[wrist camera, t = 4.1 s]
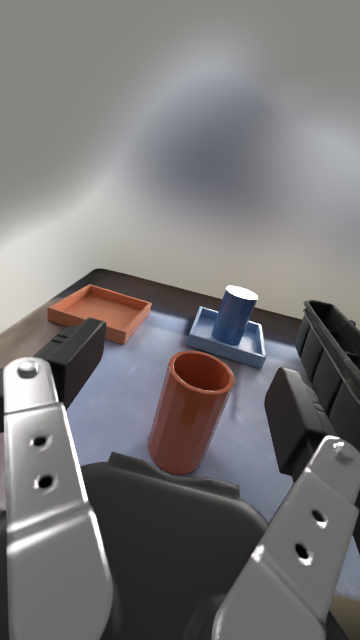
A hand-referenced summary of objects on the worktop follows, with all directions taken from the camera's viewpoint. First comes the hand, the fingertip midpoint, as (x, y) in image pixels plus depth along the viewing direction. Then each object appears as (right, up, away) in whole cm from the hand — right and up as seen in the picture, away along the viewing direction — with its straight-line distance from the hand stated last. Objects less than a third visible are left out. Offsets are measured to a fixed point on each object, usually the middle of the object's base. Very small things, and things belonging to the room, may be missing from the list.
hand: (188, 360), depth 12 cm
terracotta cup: (-1, -12, +18) cm, 22 cm away
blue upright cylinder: (+9, -2, +43) cm, 44 cm away
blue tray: (+9, -2, +44) cm, 45 cm away
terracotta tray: (-15, +3, +40) cm, 43 cm away
